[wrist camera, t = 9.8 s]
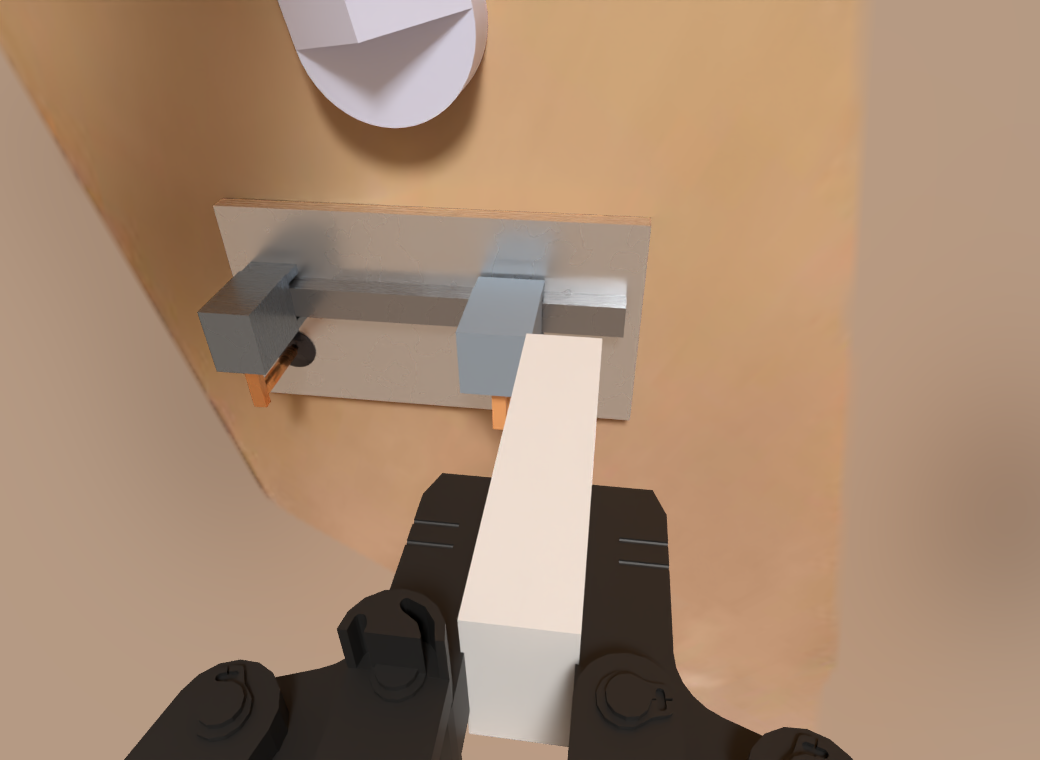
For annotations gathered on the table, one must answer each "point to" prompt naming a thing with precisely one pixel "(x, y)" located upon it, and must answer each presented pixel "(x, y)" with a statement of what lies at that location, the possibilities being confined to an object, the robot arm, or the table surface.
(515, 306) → the slider
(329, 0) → the wedge on round base
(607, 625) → the robot arm
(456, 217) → the bolt plate
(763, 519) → the table surface
